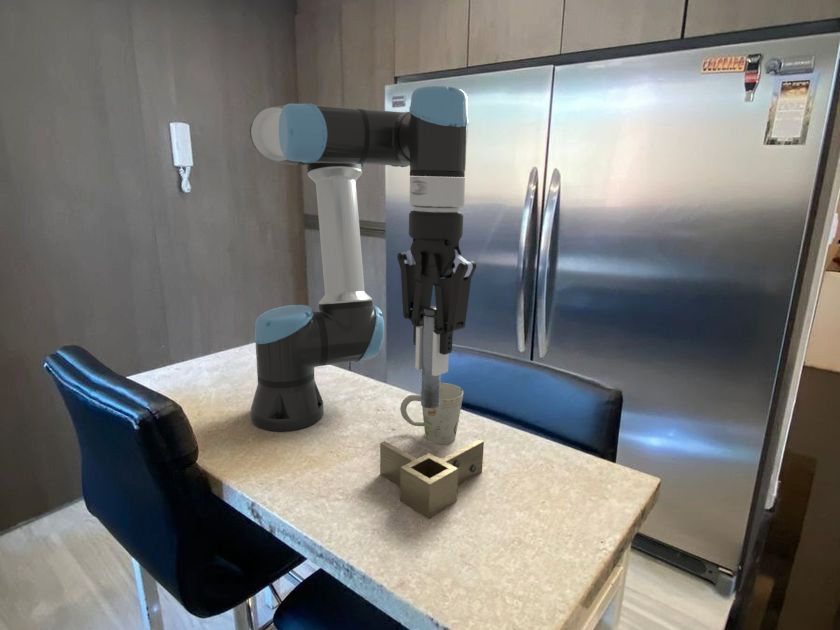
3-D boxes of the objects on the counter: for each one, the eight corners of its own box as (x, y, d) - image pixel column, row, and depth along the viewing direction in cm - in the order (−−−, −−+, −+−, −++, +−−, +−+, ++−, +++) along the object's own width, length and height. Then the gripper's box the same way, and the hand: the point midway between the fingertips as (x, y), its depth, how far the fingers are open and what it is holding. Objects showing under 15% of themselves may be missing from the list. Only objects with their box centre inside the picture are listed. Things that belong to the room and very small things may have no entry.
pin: (417, 404, 78) (419, 308, 75) (430, 399, 80) (432, 305, 77) (430, 410, 77) (433, 311, 73) (443, 404, 78) (446, 308, 75)
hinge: (368, 480, 88) (368, 448, 87) (434, 447, 100) (435, 418, 98) (428, 519, 79) (429, 484, 77) (494, 478, 90) (496, 446, 88)
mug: (458, 449, 99) (460, 401, 97) (394, 441, 101) (395, 394, 99) (463, 429, 107) (465, 384, 104) (404, 423, 109) (405, 378, 107)
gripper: (378, 207, 74) (377, 362, 80) (462, 213, 63) (454, 392, 69) (415, 206, 79) (412, 352, 85) (499, 212, 68) (489, 378, 74)
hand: (431, 369), depth 77 cm, fingers closed on pin, 3 cm apart
